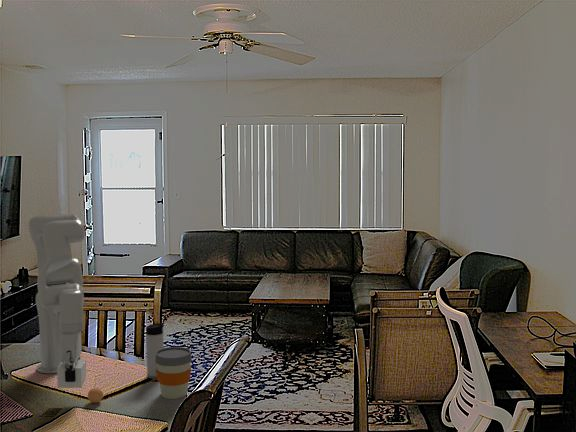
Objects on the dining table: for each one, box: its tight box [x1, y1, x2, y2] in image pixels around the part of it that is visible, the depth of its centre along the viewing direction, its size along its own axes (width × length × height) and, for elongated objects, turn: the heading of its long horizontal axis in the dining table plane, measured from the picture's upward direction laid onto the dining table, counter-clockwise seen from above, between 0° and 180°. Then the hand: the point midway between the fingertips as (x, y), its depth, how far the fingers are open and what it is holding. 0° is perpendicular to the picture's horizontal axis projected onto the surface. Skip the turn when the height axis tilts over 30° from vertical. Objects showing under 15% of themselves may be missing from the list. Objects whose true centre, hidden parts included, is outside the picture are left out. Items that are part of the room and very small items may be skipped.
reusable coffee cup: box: [155, 346, 193, 400], centre depth 232 cm, size 13×13×15 cm
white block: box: [56, 358, 87, 389], centre depth 225 cm, size 8×8×7 cm
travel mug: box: [145, 323, 165, 380], centre depth 249 cm, size 6×7×20 cm
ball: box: [87, 387, 104, 404], centre depth 226 cm, size 5×5×5 cm
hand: (73, 376), depth 225 cm, fingers closed on white block, 7 cm apart
